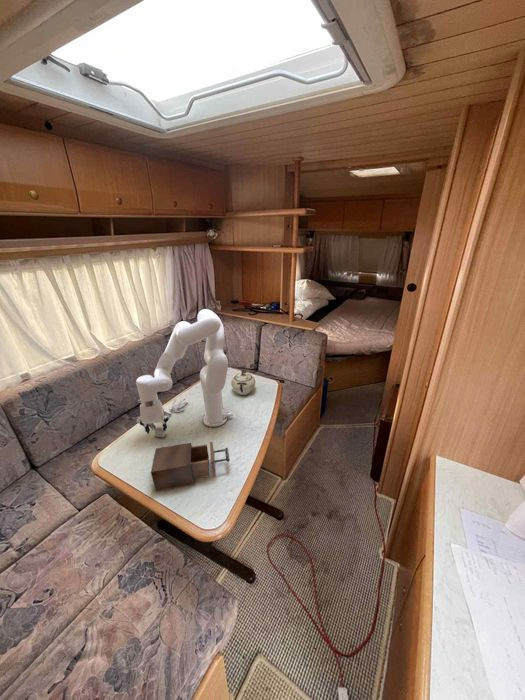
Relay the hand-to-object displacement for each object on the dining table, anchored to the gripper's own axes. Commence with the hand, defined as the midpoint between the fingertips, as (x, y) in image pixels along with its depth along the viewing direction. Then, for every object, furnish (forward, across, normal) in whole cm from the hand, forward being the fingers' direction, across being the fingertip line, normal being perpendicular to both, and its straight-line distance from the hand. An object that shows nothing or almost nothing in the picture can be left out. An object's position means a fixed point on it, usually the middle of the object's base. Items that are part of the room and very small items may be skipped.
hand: (156, 430), depth 135 cm
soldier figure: (+4, +9, +21) cm, 23 cm away
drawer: (+3, +23, -27) cm, 36 cm away
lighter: (+3, 0, 0) cm, 3 cm away
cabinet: (+3, +11, -27) cm, 29 cm away
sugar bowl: (+4, +48, +30) cm, 57 cm away
